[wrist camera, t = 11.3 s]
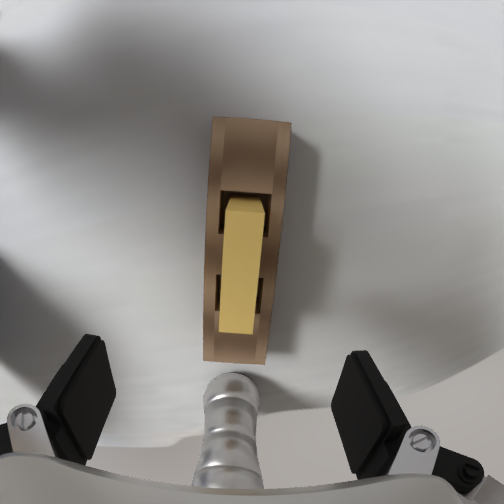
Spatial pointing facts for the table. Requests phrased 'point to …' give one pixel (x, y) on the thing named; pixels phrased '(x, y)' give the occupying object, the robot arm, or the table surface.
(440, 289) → the table surface
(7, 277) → the table surface
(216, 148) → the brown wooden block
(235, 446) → the plastic bottle
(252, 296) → the yellow notched flat block
